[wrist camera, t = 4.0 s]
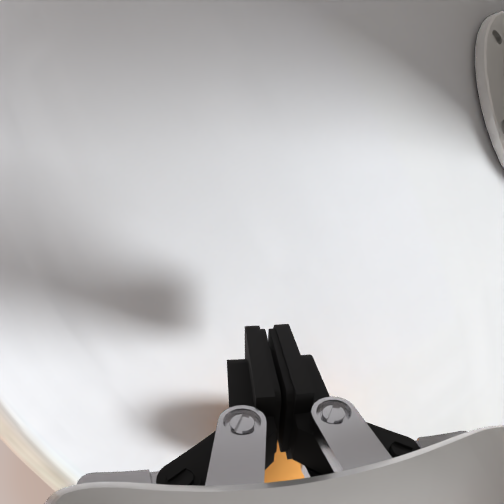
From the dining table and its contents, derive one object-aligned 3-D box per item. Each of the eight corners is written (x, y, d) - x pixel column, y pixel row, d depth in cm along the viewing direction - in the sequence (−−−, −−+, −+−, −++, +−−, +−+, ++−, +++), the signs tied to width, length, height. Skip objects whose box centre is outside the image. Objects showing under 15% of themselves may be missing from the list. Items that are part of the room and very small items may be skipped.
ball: (218, 401, 17) (217, 487, 11) (320, 395, 17) (346, 474, 11) (224, 455, 19) (225, 525, 13) (308, 449, 19) (324, 517, 13)
